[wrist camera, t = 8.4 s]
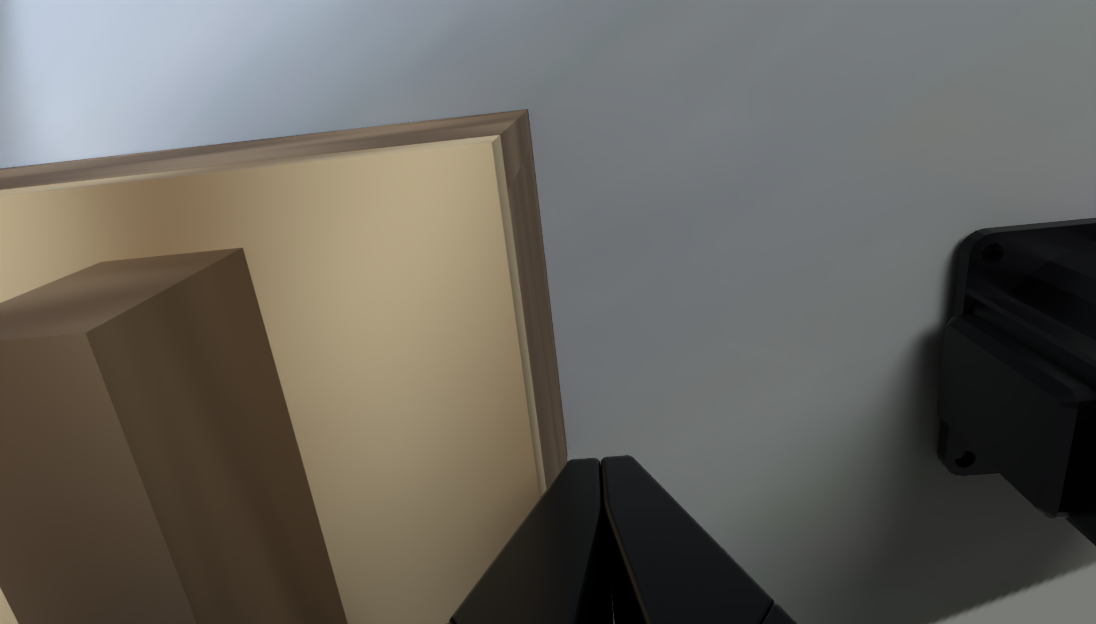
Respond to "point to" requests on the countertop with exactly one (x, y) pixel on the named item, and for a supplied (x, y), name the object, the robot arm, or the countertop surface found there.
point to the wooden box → (505, 124)
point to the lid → (263, 391)
